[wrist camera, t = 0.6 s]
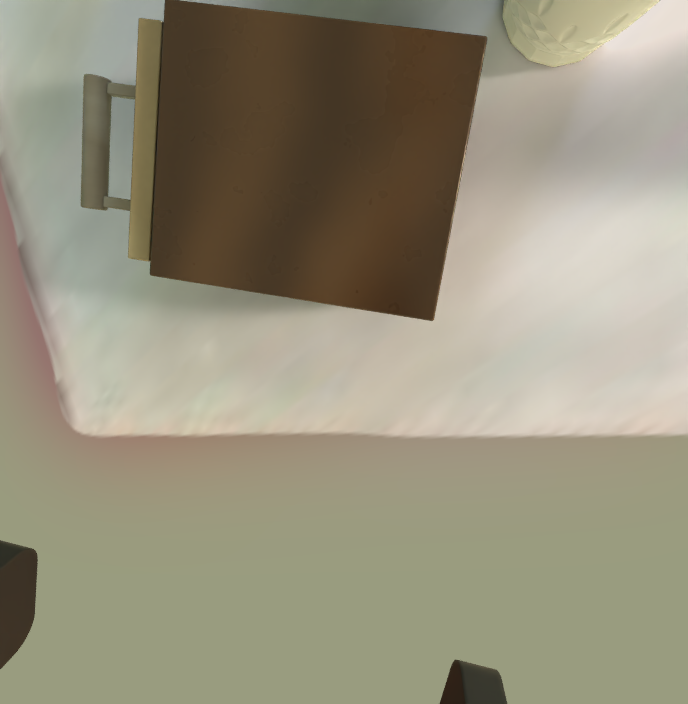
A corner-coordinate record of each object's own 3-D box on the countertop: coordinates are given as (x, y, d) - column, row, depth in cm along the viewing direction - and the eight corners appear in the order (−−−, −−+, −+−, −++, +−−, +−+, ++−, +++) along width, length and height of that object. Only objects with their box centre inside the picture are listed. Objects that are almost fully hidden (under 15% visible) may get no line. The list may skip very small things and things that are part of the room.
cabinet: (216, 266, 34) (149, 275, 25) (233, 70, 32) (164, -3, 22) (424, 299, 33) (433, 321, 24) (461, 99, 30) (488, 35, 21)
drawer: (126, 245, 34) (47, 245, 26) (134, 63, 31) (49, 6, 24) (384, 285, 33) (379, 298, 25) (415, 99, 30) (420, 51, 22)
